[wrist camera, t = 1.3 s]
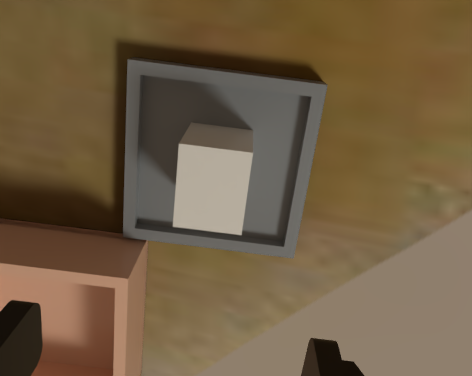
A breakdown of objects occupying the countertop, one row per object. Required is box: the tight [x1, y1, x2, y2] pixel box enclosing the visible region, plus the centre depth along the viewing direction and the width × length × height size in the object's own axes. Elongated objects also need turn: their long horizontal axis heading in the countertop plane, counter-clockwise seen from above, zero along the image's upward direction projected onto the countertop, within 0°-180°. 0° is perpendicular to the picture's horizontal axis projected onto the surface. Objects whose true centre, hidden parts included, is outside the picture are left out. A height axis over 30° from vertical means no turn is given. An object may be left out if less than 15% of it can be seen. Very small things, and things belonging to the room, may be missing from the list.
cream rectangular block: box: [173, 122, 253, 235], centre depth 26 cm, size 5×4×5 cm
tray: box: [123, 57, 327, 258], centre depth 29 cm, size 12×12×1 cm
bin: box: [0, 218, 148, 376], centre depth 31 cm, size 13×13×6 cm
